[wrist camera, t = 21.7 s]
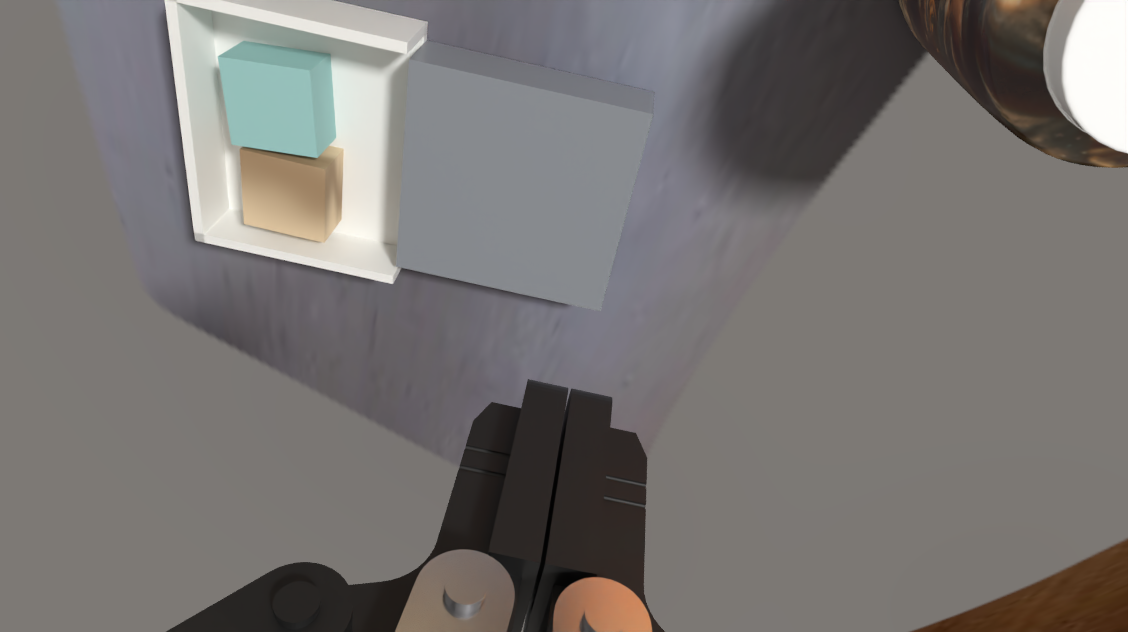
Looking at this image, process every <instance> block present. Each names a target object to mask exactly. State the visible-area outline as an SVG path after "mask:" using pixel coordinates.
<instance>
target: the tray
mask: <svg viewBox="0 0 1128 632" xmlns="http://www.w3.org/2000/svg"><path fill="white" fill-rule="evenodd" d="M165 7H166V15H167V23H168V31H169V39H170V47H171V55H172V62H173V70H174V78H175V86H176V94H177V102H178V110H179V118H180V126H181V134H182V142H183V150H184V158H185V165H186V173H187V181H188V189H189V197H190V205H191V213H192V221H193V229H194V237H195V241H199V242H204V243H209V244H213V245H218V246H222V247H227V248H231V249H236V250H240V251H245V252H250V253H254V254H259V255H263V256H268V257H272V258H277V259H282V260H286V261H291V262H295V263H300V264H304V265H309V266H313V267H318V268H323V269H327V270H332V271H336V272H341V273H345V274H350V275H354V276H359V277H364V278H368V279H373V280H377V281H382V282H386V283H391V284H393V283H394V281H395V279H396V277H397V275H398V273H399V272H400V270H401V267H396V258H397V242H398V226H399V210H400V195H401V179H402V163H403V147H404V131H405V115H406V99H407V83H408V67H409V59H410V58H411V56H412V55H413V54H414V53H415V52H416V51H417V50H418V49H419V48H420V47H421V46H422V45H423V44H424V42H425V41H426V40H427V28H428V22H426V21H422V20H417V19H413V18H408V17H404V16H400V15H395V14H391V13H386V12H382V11H378V10H373V9H369V8H364V7H360V6H356V5H351V4H347V3H342V2H338V1H333V0H165ZM242 41H249V42H255V43H262V44H268V45H275V46H282V47H288V48H295V49H301V50H308V51H314V52H321V53H327V54H331V68H332V82H333V97H334V111H335V126H336V139H335V140H334V141H333V142H332V143H331V144H330V146H334V147H338V148H342V149H344V156H343V188H342V220H341V221H340V222H339V224H338V225H337V226H336V228H335V229H334V231H333V232H332V233H331V235H330V236H329V237H328V239H327V240H326V241H325V243H323V242H318V241H314V240H310V239H306V238H301V237H297V236H293V235H289V234H284V233H280V232H276V231H272V230H267V229H263V228H259V227H255V226H250V225H246V224H244V217H243V200H242V183H241V166H240V148H241V147H243V146H237V145H232V144H231V138H230V131H229V125H228V119H227V112H226V106H225V100H224V94H223V87H222V81H221V75H220V68H219V62H218V56H219V55H221V54H223V53H224V52H226V51H227V50H229V49H231V48H232V47H234V46H236V45H237V44H239V43H241V42H242Z"/></svg>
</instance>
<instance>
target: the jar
mask: <svg viewBox="0 0 1128 632" xmlns="http://www.w3.org/2000/svg"><path fill="white" fill-rule="evenodd" d="M899 4H900V8H901V10H902V13H903V16H904V18H905V20H906V22H907V25H908V26H909V28H910V30H911V31H912V33H913V34H914V36H915V37H916V38H917V40H918V41H919V42H920V43H921V45H922V46H923V47H924V48H925V49H926V50H927V51H928V52H929V53H930V54H931V55H932V56H933V57H934V58H935V60H937V62H938V63H939V64H940V65H941V66H942V67H943V68H944V69H945V70H946V71H947V72H948V73H949V74H950V75H951V76H952V77H953V78H954V79H955V80H956V81H957V82H958V83H959V84H960V85H961V86H962V87H963V88H964V89H965V90H966V91H967V92H968V93H969V94H970V95H971V96H972V97H973V98H974V99H975V100H976V101H977V102H978V103H979V104H980V105H981V106H982V107H983V108H984V109H985V110H986V111H988V112H989V114H991V115H992V116H993V117H994V118H995V119H996V120H997V121H998V122H999V123H1001V124H1002V125H1003V126H1004V127H1005V128H1007V129H1008V130H1009V131H1010V132H1012V133H1013V134H1014V135H1015V136H1017V137H1018V138H1019V139H1021V140H1022V141H1024V142H1025V143H1027V144H1029V145H1030V146H1032V147H1034V148H1036V149H1038V150H1040V151H1041V152H1044V153H1045V154H1047V155H1050V156H1052V157H1055V158H1057V159H1060V160H1063V161H1067V162H1070V163H1074V164H1079V165H1085V166H1093V167H1108V168H1110V167H1111V168H1118V167H1128V0H899Z"/></svg>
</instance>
